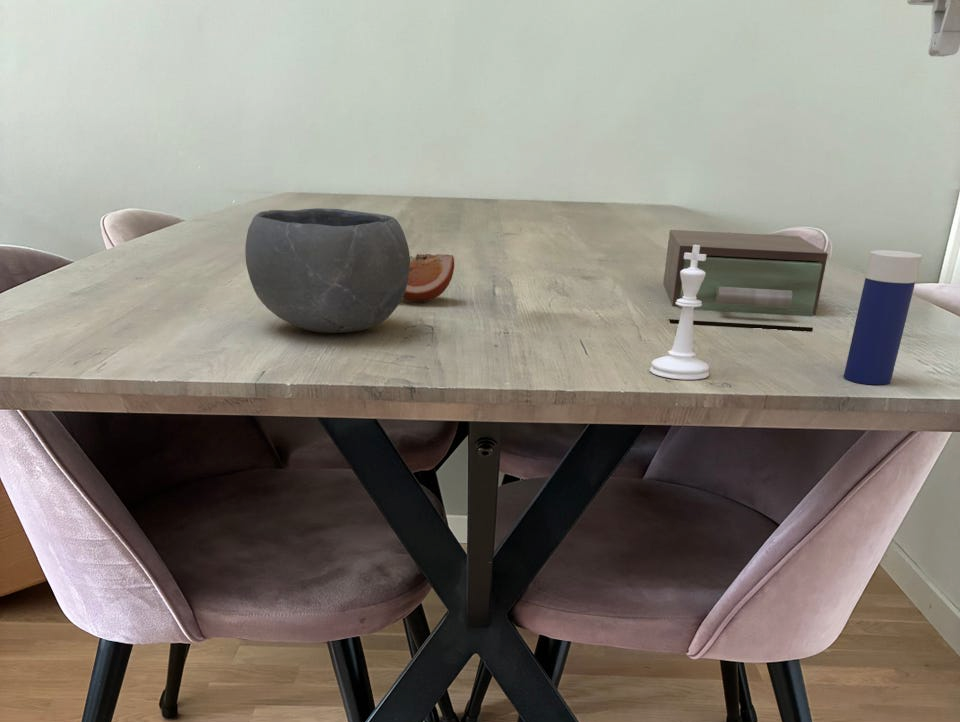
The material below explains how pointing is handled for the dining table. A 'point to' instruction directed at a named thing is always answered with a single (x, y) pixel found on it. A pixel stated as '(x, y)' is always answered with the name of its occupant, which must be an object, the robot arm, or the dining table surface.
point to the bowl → (328, 267)
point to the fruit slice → (428, 276)
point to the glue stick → (881, 316)
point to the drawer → (757, 285)
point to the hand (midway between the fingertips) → (942, 55)
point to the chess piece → (685, 328)
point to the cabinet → (737, 247)
